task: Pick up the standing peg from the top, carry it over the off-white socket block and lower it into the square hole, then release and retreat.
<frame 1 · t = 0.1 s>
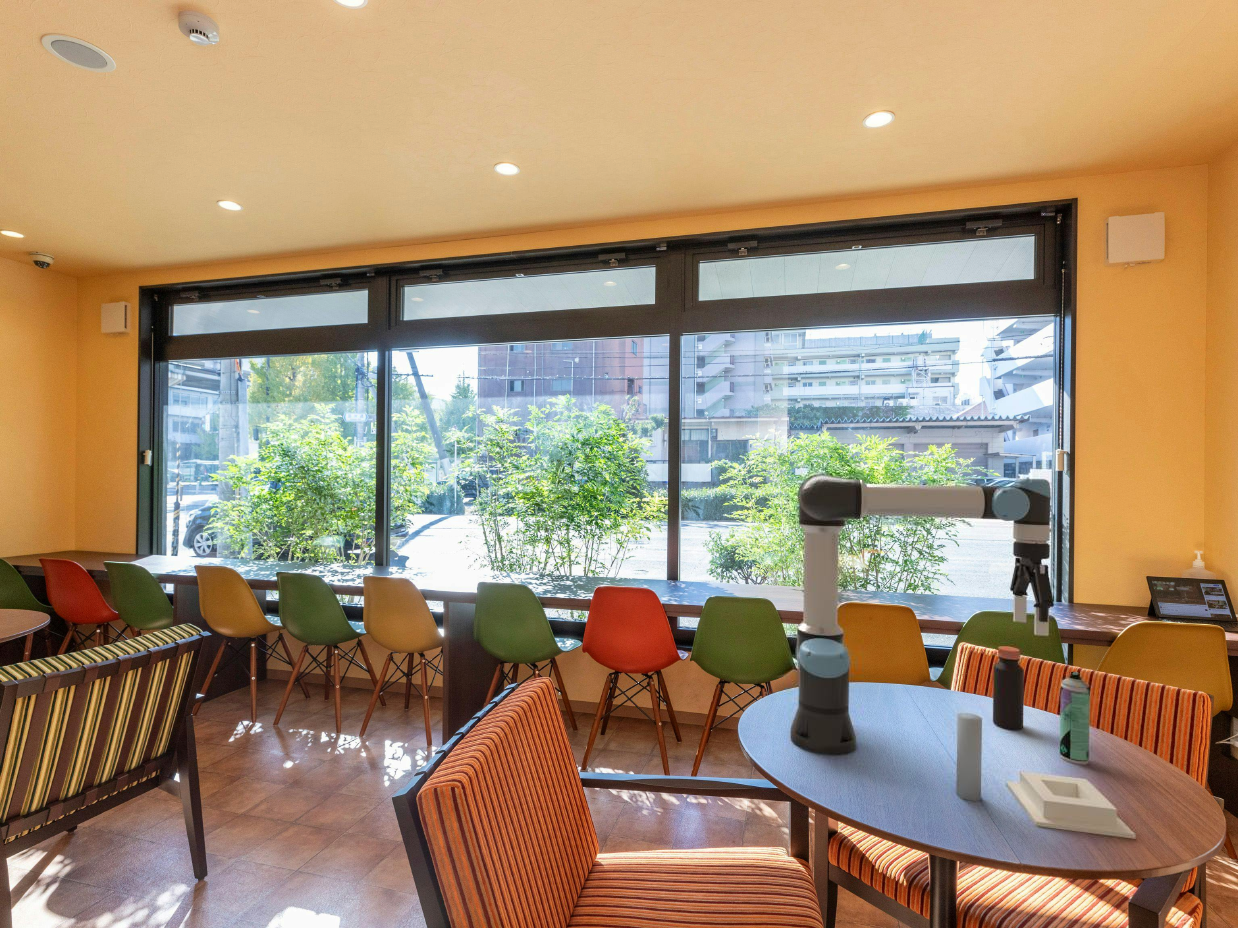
hand: (1030, 628, 157), 28 cm above the table, tool pointing down, fingers open, 13 cm apart
socket: (1065, 809, 125), on the table
spray can: (1074, 759, 148), on the table
bottle: (1007, 725, 167), on the table
peg: (968, 795, 130), on the table
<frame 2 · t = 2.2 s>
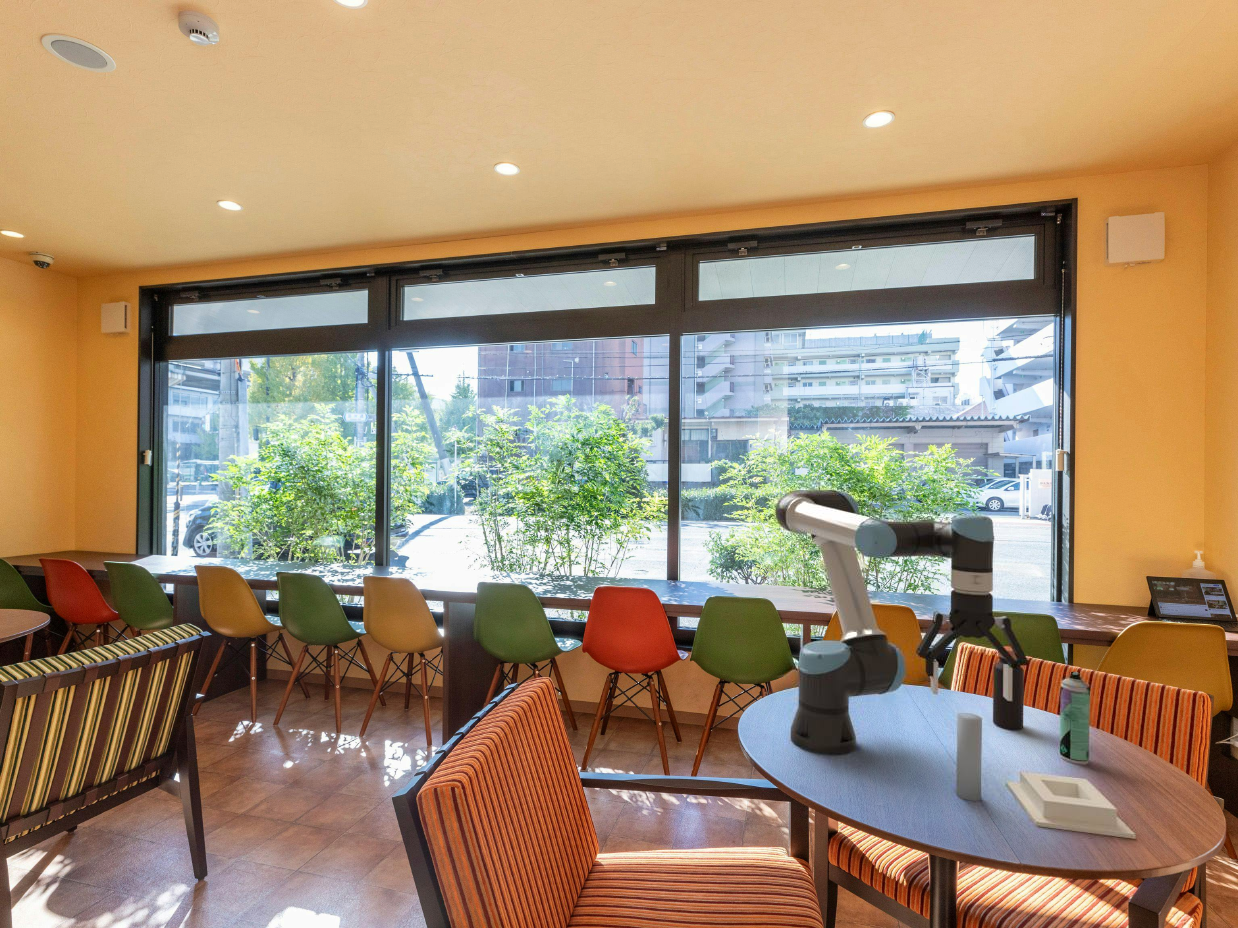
hand: (970, 695, 130), 20 cm above the table, tool pointing down, fingers open, 13 cm apart
nothing on the table moved.
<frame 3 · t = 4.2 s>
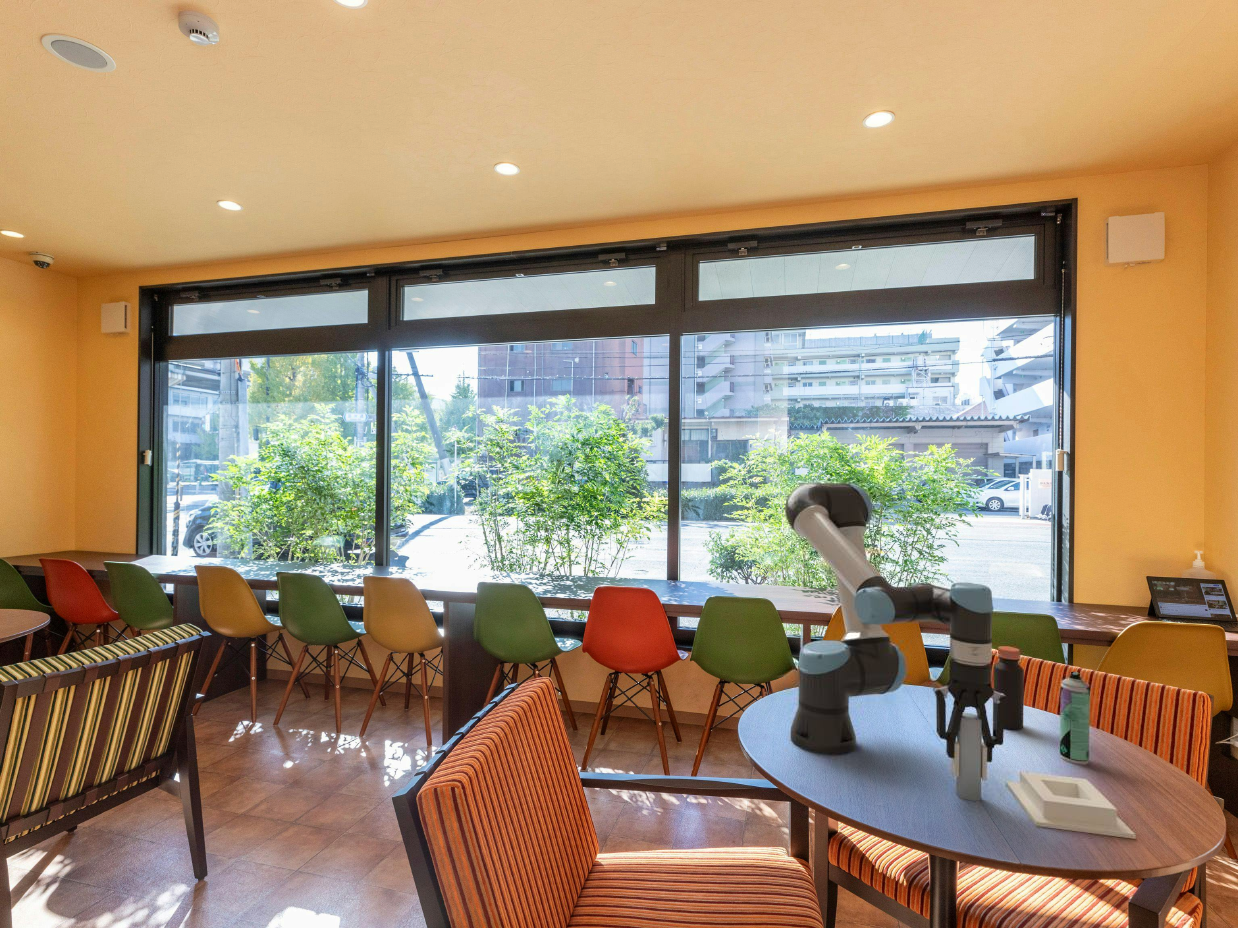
hand: (968, 774, 130), 4 cm above the table, tool pointing down, fingers closed on peg, 4 cm apart
peg: (968, 795, 130), on the table, touching gripper
everything else where it was.
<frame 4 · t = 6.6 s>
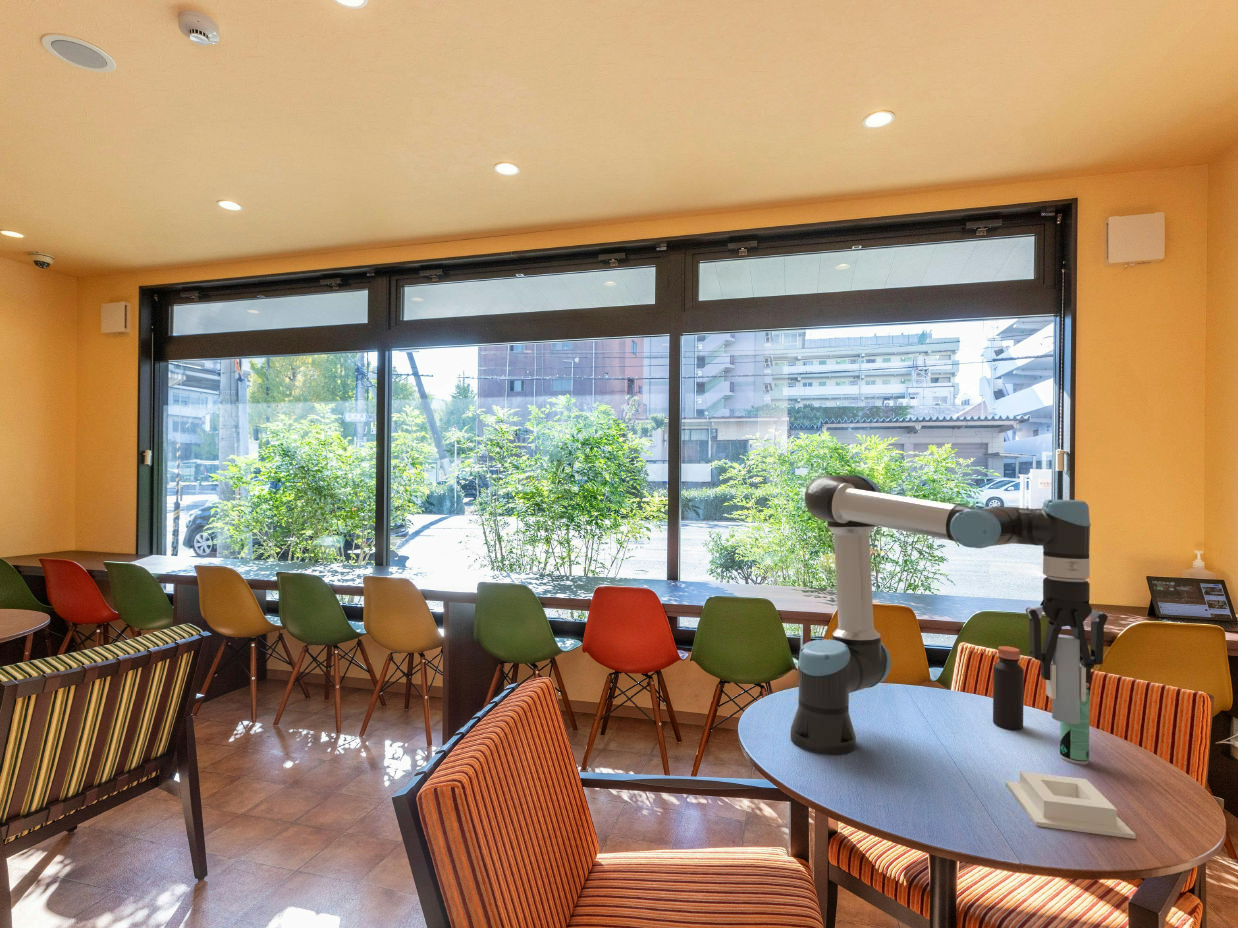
hand: (1065, 697, 125), 22 cm above the table, tool pointing down, fingers closed on peg, 4 cm apart
peg: (1065, 719, 125), point 18 cm above the table, touching gripper
everything else where it was.
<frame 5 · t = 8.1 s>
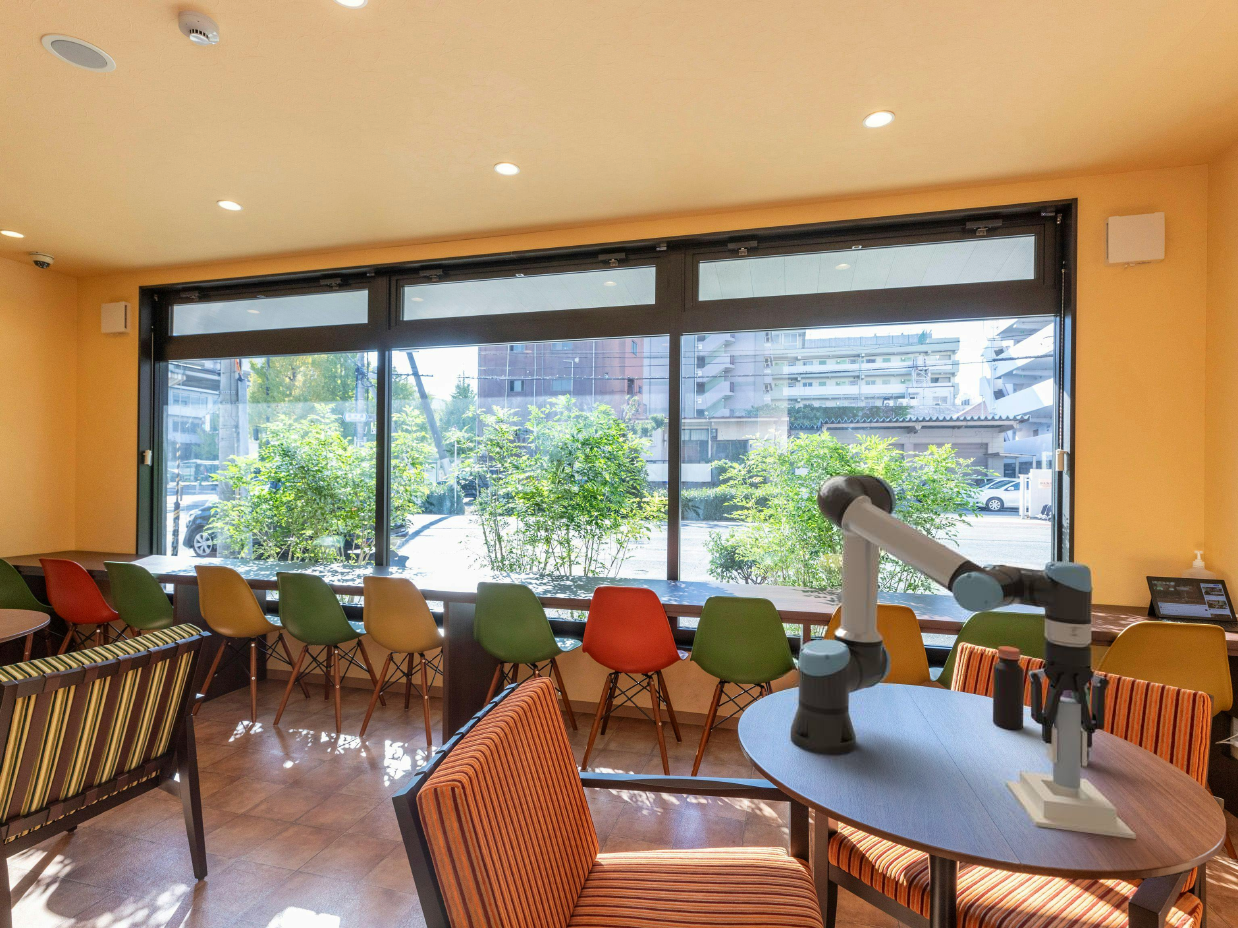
hand: (1066, 760, 125), 10 cm above the table, tool pointing down, fingers closed on peg, 4 cm apart
peg: (1066, 782, 125), point 5 cm above the table, touching gripper
everything else where it was.
when the fingers open (6 cm above the table, at t = 9.1 s): peg stays where it is, resting on socket.
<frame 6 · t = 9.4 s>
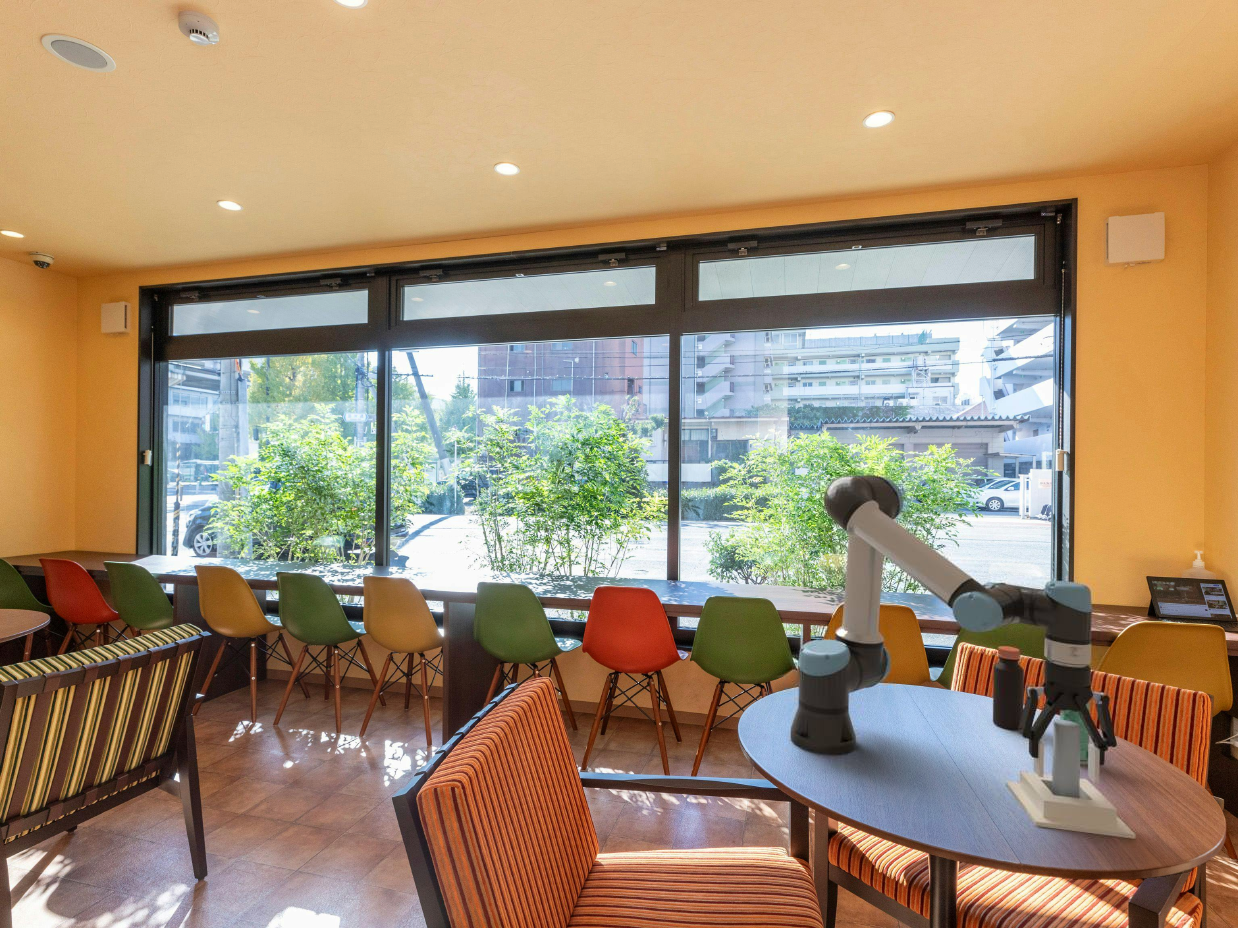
hand: (1065, 776, 125), 6 cm above the table, tool pointing down, fingers open, 9 cm apart
peg: (1065, 805, 125), point 1 cm above the table, touching socket
everything else where it was.
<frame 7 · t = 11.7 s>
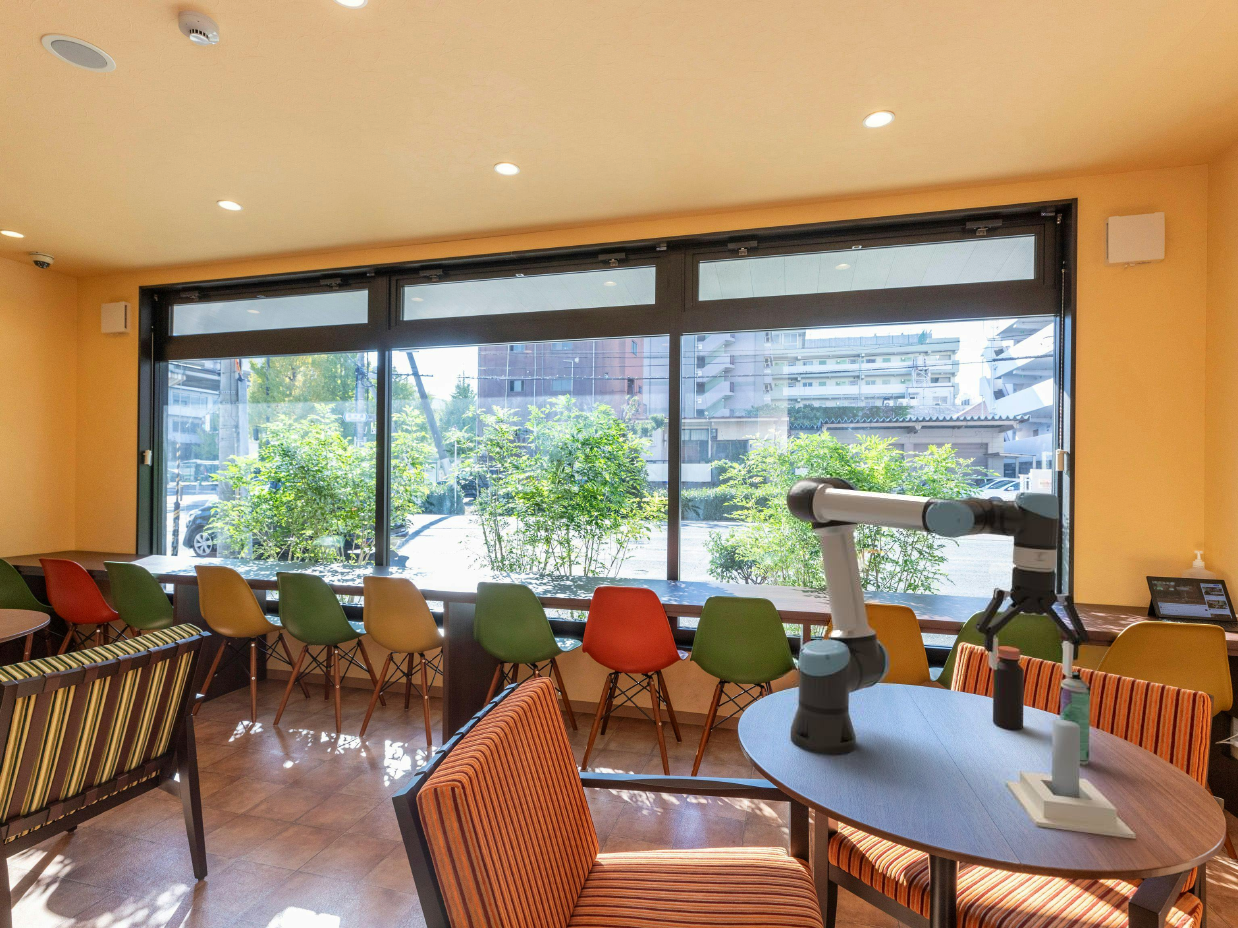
hand: (1029, 671, 131), 25 cm above the table, tool pointing down, fingers open, 13 cm apart
nothing on the table moved.
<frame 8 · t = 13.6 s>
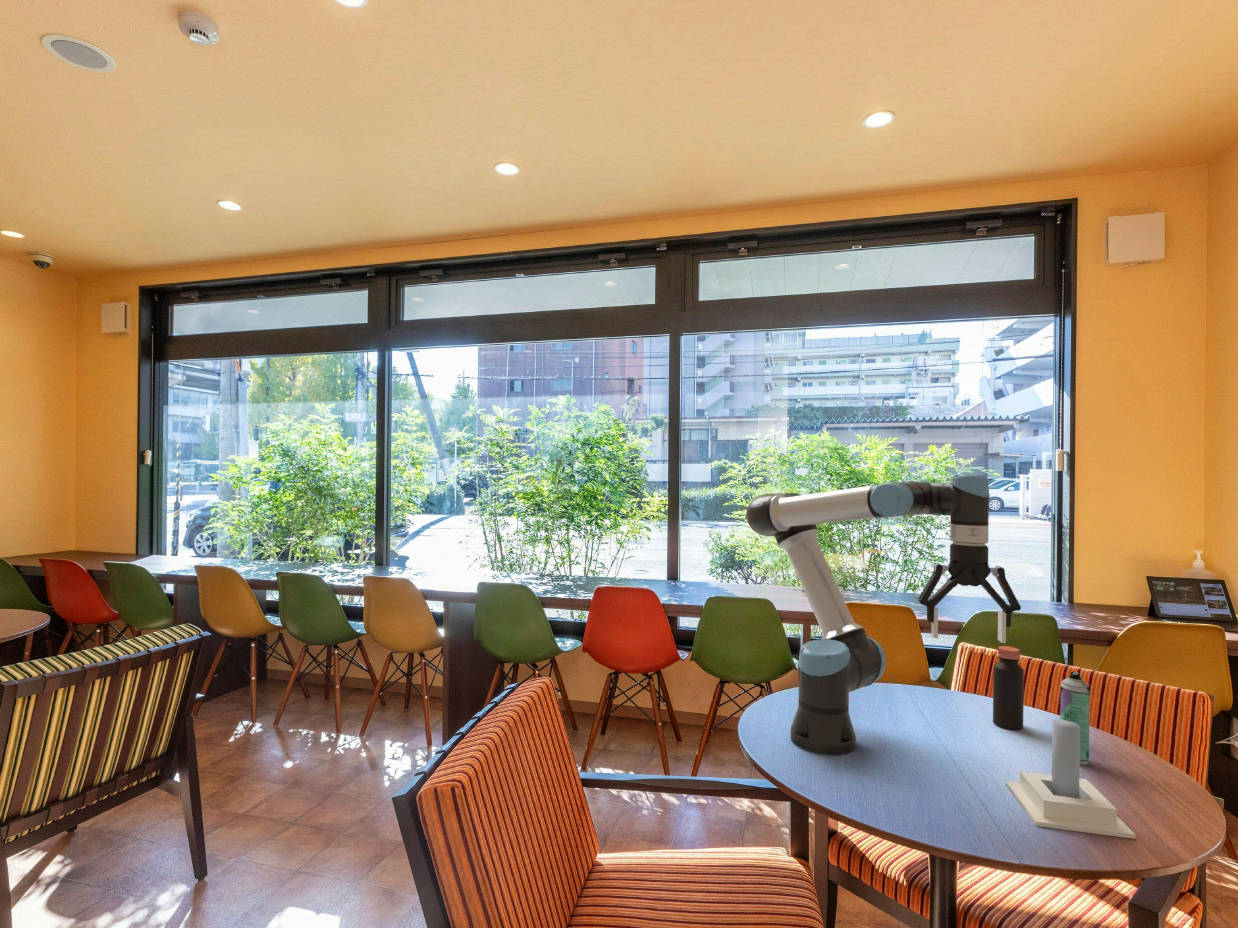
hand: (967, 639, 142), 29 cm above the table, tool pointing down, fingers open, 13 cm apart
nothing on the table moved.
at the end: peg 0.1 cm off-centre on the socket, point 0.8 cm above the socket's base; peg tilted 0°; the gripper is holding nothing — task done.
